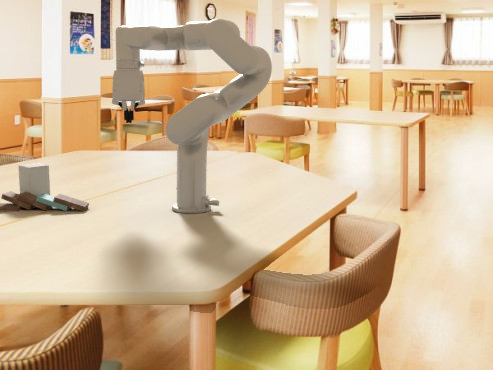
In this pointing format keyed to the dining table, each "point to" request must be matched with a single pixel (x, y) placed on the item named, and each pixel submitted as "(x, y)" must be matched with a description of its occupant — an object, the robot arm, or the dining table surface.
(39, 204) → the domino
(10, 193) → the domino
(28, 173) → the supplement box
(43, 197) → the domino
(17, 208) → the domino
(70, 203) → the domino
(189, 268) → the dining table surface
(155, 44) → the robot arm
